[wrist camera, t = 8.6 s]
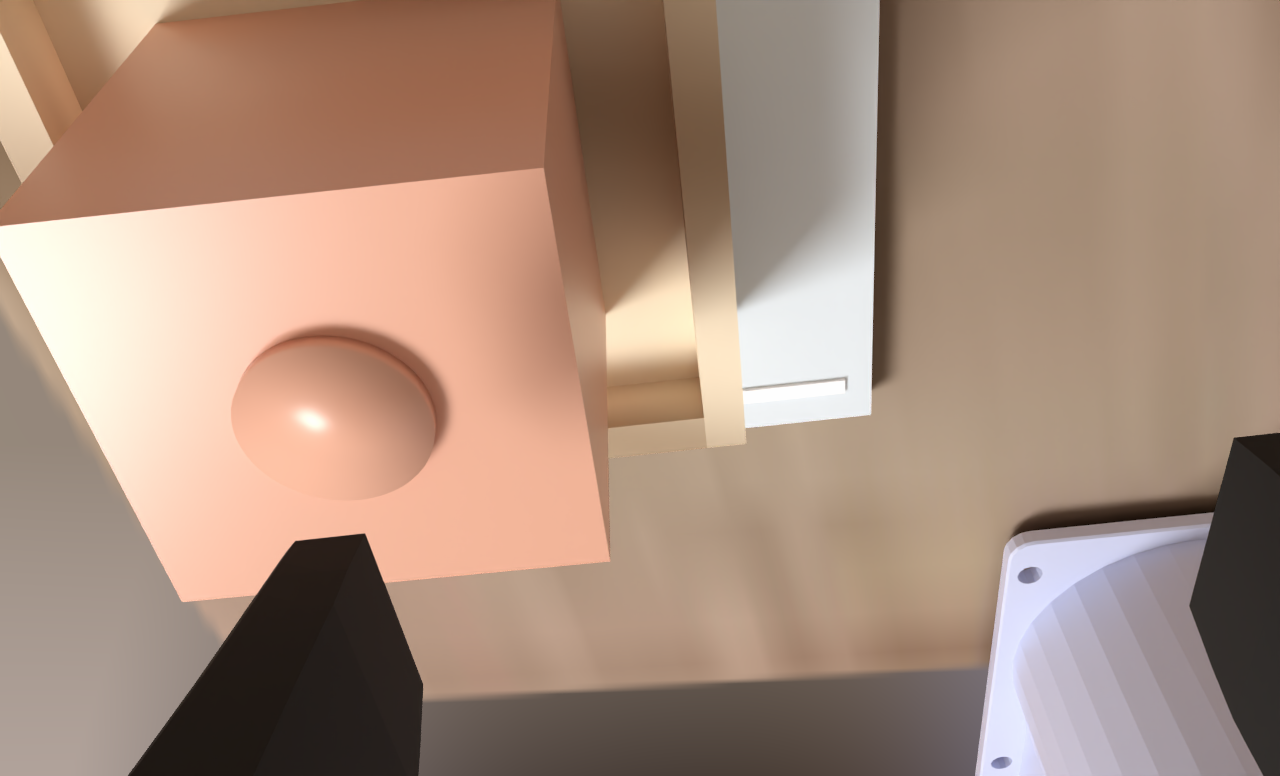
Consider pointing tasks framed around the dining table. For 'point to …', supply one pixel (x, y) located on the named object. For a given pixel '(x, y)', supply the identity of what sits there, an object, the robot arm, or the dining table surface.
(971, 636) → the dining table surface
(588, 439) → the terracotta block
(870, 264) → the white board
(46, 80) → the birch tray
